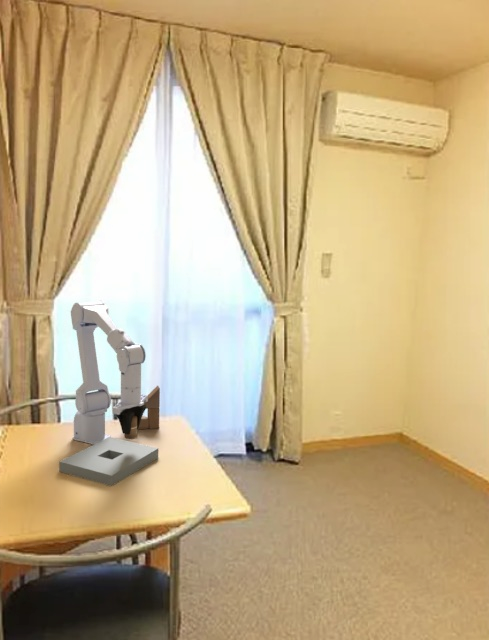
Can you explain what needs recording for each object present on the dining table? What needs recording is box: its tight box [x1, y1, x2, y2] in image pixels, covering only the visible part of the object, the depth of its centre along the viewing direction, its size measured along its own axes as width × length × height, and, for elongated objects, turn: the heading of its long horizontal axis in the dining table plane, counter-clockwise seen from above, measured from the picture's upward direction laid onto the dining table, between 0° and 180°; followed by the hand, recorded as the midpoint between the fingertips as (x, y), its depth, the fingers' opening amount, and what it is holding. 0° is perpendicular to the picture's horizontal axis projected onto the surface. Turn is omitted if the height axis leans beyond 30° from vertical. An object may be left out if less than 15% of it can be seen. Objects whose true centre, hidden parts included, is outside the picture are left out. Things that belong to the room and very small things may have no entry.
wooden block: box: [138, 385, 161, 430], centre depth 199 cm, size 4×11×18 cm, turn 108°
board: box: [58, 436, 159, 487], centre depth 170 cm, size 18×22×3 cm
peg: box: [123, 415, 138, 440], centre depth 172 cm, size 4×4×6 cm
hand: (130, 431), depth 172 cm, fingers closed on peg, 4 cm apart
